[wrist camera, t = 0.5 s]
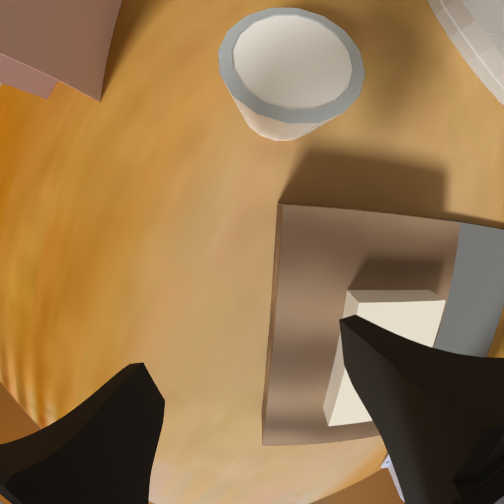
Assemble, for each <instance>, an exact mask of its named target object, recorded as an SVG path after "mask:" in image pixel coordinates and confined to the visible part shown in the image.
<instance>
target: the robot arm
mask: <svg viewBox="0 0 504 504" xmlns="http://www.w3.org/2000/svg"><path fill="white" fill-rule="evenodd" d="M339 324H340V333H341V342H342V351H343V361H344V366H345V368H346V371H347V373H348V376H349V378H350V381H351V383H352V385H353V387H354V389H355V391H356V393H357V394H358V396H359V398H360V400H361V401H362V403H363V405H364V407H365V408H366V410H367V412H368V413H369V415H370V417H371V419H372V420H373V422H374V424H375V426H376V427H377V429H378V431H379V433H380V435H381V437H382V439H383V441H384V444H385V446H386V449H387V451H388V455H387V457H386V458H385V460H384V461H383V463H382V465H381V468H386V467H388V469H389V471H390V473H391V476H392V478H393V481H394V483H395V486H396V488H397V491H398V493H399V495H400V497H401V499H402V500H403V501H404V502H405V504H504V358H488V357H477V356H470V355H463V354H457V353H452V352H448V351H444V350H440V349H436V348H433V347H429V346H426V345H423V344H420V343H418V342H415V341H412V340H409V339H407V338H405V337H402V336H400V335H397V334H395V333H393V332H391V331H389V330H386V329H384V328H382V327H380V326H378V325H376V324H374V323H372V322H370V321H368V320H366V319H364V318H362V317H360V316H358V315H352V316H349V317H346V318H343V319H339ZM164 407H165V400H164V398H163V397H162V395H161V393H160V392H159V390H158V388H157V386H156V385H155V383H154V381H153V379H152V378H151V376H150V374H149V372H148V370H147V369H146V367H145V365H144V363H134V364H129V365H128V366H126V367H125V368H123V369H122V370H121V371H120V372H118V373H117V374H116V375H115V376H114V377H112V378H111V379H110V380H109V381H108V382H107V383H105V384H104V385H103V386H102V387H101V388H100V389H98V390H97V391H96V392H95V393H94V394H93V395H91V396H90V397H89V398H88V399H86V400H85V401H84V402H83V403H81V404H80V405H79V406H77V407H76V408H75V409H74V410H72V411H71V412H70V413H68V414H67V415H65V416H64V417H62V418H61V419H59V420H57V421H56V422H54V423H52V424H51V425H49V426H47V427H45V428H43V429H41V430H39V431H37V432H35V433H33V434H31V435H28V436H26V437H23V438H21V439H18V440H15V441H12V442H9V443H5V444H1V445H0V494H1V495H2V496H3V497H4V498H6V499H7V500H8V501H9V502H11V503H12V504H148V498H149V484H150V475H151V469H152V465H153V461H154V457H155V453H156V449H157V445H158V441H159V437H160V433H161V429H162V424H163V417H164ZM0 504H4V503H3V502H1V501H0Z"/></svg>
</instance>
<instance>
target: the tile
mask: <svg viewBox="0 0 504 504" xmlns="http://www.w3.org/2000/svg"><path fill="white" fill-rule="evenodd" d="M445 301H446V300H445V299H443V298H441V297H440V296H438V295H437V294H435V293H433V292H432V291H430V290H347V294H346V301H345V307H344V313H343V318H346V317H349V316H352V315H358V316H360V317H362V318H364V319H366V320H368V321H370V322H372V323H374V324H376V325H378V326H380V327H382V328H384V329H386V330H389V331H391V332H393V333H395V334H397V335H400V336H402V337H405V338H407V339H409V340H412V341H415V342H418V343H420V344H423V345H426V346H429V347H433V344H434V341H435V338H436V334H437V331H438V328H439V324H440V321H441V317H442V313H443V309H444V305H445ZM323 409H324V413H325V416H326V420H327V423H328V426H336V425H345V424H354V423H361V422H368V421H373V420H372V419H371V417H370V415H369V413H368V412H367V410H366V408H365V407H364V405H363V403H362V401H361V400H360V398H359V396H358V394H357V393H356V391H355V389H354V387H353V385H352V383H351V381H350V378H349V376H348V373H347V371H346V368H345V366H344V361H343V351H342V342H341V333H340V335H339V340H338V345H337V350H336V355H335V360H334V364H333V369H332V373H331V377H330V381H329V386H328V390H327V394H326V397H325V401H324V405H323Z"/></svg>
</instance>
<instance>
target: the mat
mask: <svg viewBox="0 0 504 504" xmlns="http://www.w3.org/2000/svg"><path fill="white" fill-rule="evenodd" d="M435 219H437V218H435ZM441 220H444V219H441ZM446 221H450V220H446ZM451 222H456V223H460V229H459V238H458V245H457V252H456V259H455V265H454V271H453V276H452V281H451V286H450V290H449V295H448V299H447V303H446V307H445V311H444V315H443V319H442V322H441V326H440V329H439V333H438V336H437V339H436V342H435V345H434V348H436V349H440V350H444V351H448V352H452V353H457V354H463V355H470V356H477V357H487V354H488V352H489V349H490V346H491V344H492V341H493V338H494V335H495V332H496V329H497V326H498V323H499V320H500V317H501V313H502V310H503V306H504V230H503V229H498V228H492V227H487V226H481V225H475V224H469V223H463V222H457V221H451Z"/></svg>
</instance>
